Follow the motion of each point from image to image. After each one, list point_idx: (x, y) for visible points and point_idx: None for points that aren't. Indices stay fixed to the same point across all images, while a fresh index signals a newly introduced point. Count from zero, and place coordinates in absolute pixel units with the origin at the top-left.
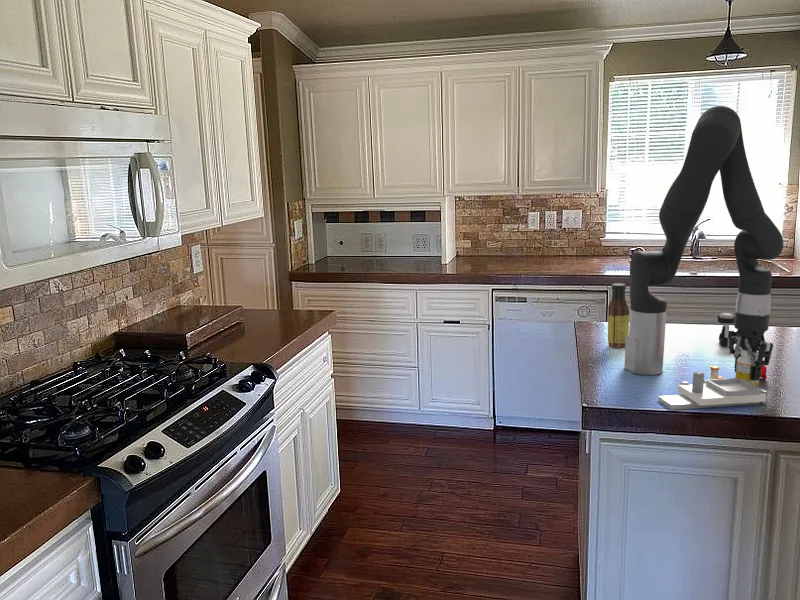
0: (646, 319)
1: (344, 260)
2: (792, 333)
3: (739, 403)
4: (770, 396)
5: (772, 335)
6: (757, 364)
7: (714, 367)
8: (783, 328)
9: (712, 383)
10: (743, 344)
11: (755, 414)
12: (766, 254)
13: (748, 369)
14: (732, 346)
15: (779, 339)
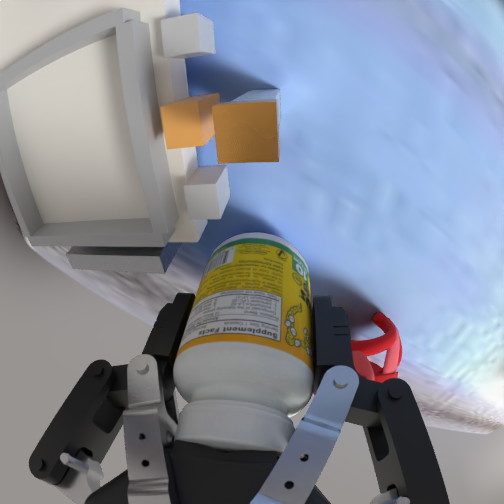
0: None
1: None
2: (480, 433)
3: None
4: (175, 292)
5: (496, 420)
6: (97, 364)
7: (231, 121)
8: (496, 428)
9: (61, 35)
10: (245, 488)
11: None
12: None
13: (186, 330)
14: (389, 434)
15: (483, 423)
